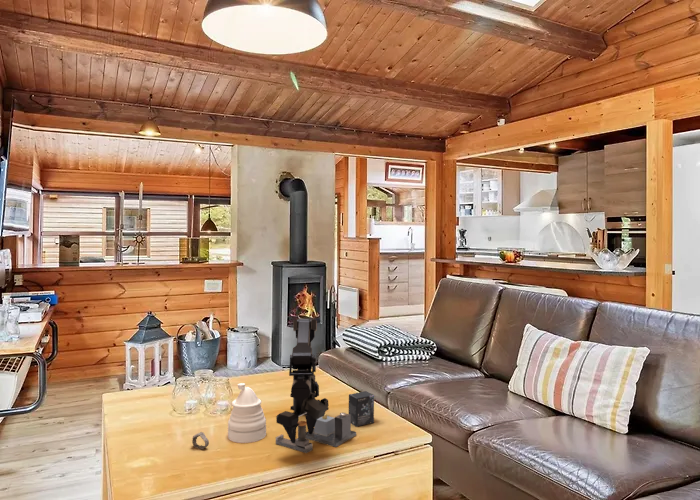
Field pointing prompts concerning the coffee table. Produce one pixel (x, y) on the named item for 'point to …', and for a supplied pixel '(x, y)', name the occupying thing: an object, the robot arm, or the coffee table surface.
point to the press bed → (328, 439)
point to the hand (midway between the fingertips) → (302, 438)
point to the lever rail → (292, 444)
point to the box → (361, 408)
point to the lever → (302, 434)
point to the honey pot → (246, 417)
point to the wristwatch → (202, 438)
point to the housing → (325, 425)
